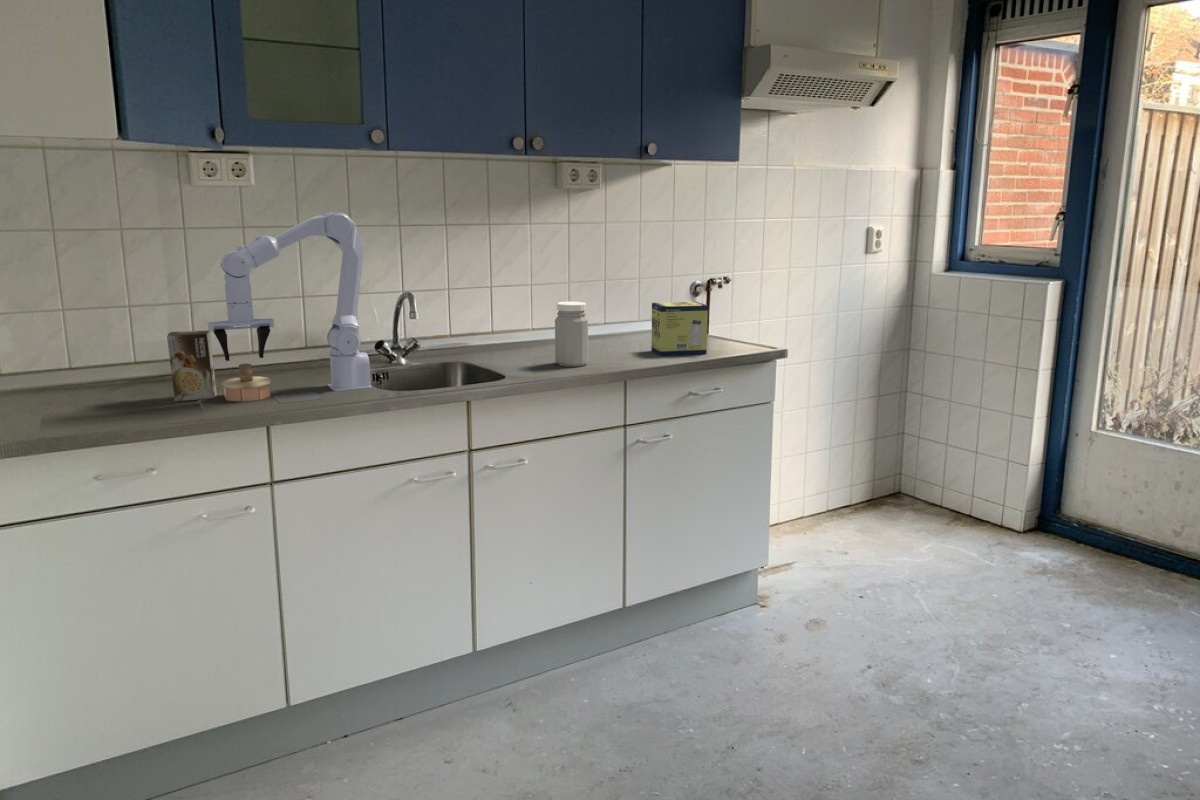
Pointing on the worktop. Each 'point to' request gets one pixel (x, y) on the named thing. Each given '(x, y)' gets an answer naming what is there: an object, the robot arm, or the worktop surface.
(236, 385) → the lid
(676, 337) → the protein box
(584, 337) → the jar
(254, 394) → the bowl
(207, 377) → the coffee box
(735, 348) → the worktop surface
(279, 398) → the mat
